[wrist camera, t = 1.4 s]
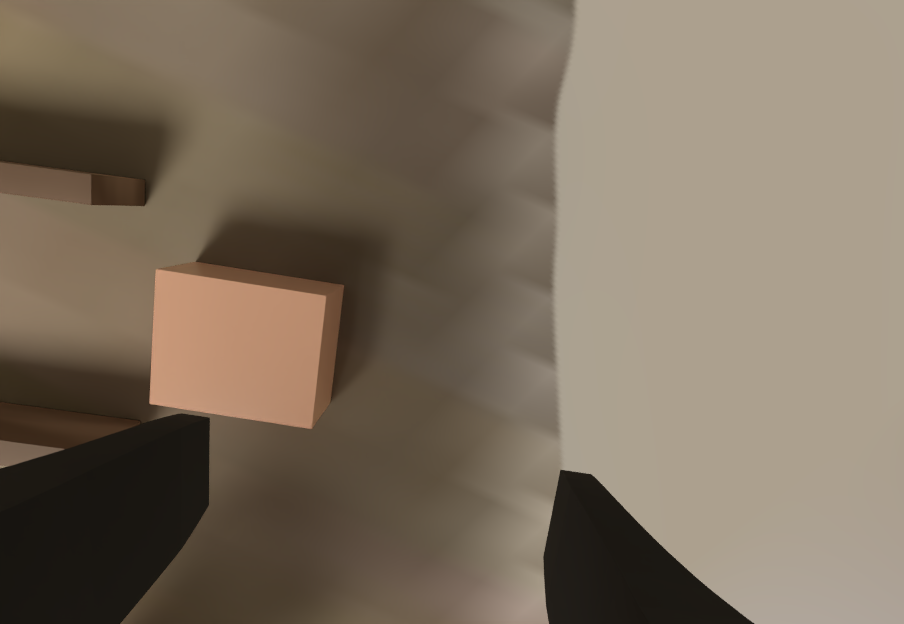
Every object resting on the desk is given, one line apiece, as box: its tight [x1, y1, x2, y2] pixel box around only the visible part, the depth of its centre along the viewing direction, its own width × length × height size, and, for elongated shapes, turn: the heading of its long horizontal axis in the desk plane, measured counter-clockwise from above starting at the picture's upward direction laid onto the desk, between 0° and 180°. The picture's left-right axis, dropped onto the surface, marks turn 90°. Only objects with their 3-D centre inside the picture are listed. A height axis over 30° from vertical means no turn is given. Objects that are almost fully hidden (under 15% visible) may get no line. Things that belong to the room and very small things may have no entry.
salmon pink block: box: [149, 262, 344, 429], centre depth 20 cm, size 5×6×3 cm
